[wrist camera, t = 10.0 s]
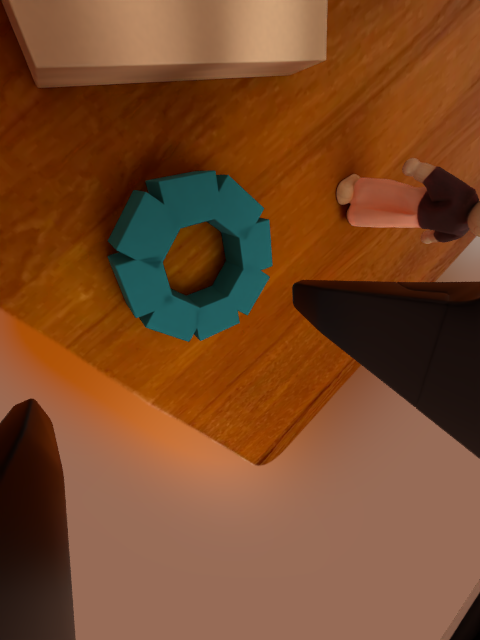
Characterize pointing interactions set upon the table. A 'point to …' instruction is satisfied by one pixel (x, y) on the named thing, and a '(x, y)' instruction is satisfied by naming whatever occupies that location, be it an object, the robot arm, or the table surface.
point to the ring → (160, 232)
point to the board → (166, 39)
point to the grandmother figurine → (414, 203)
